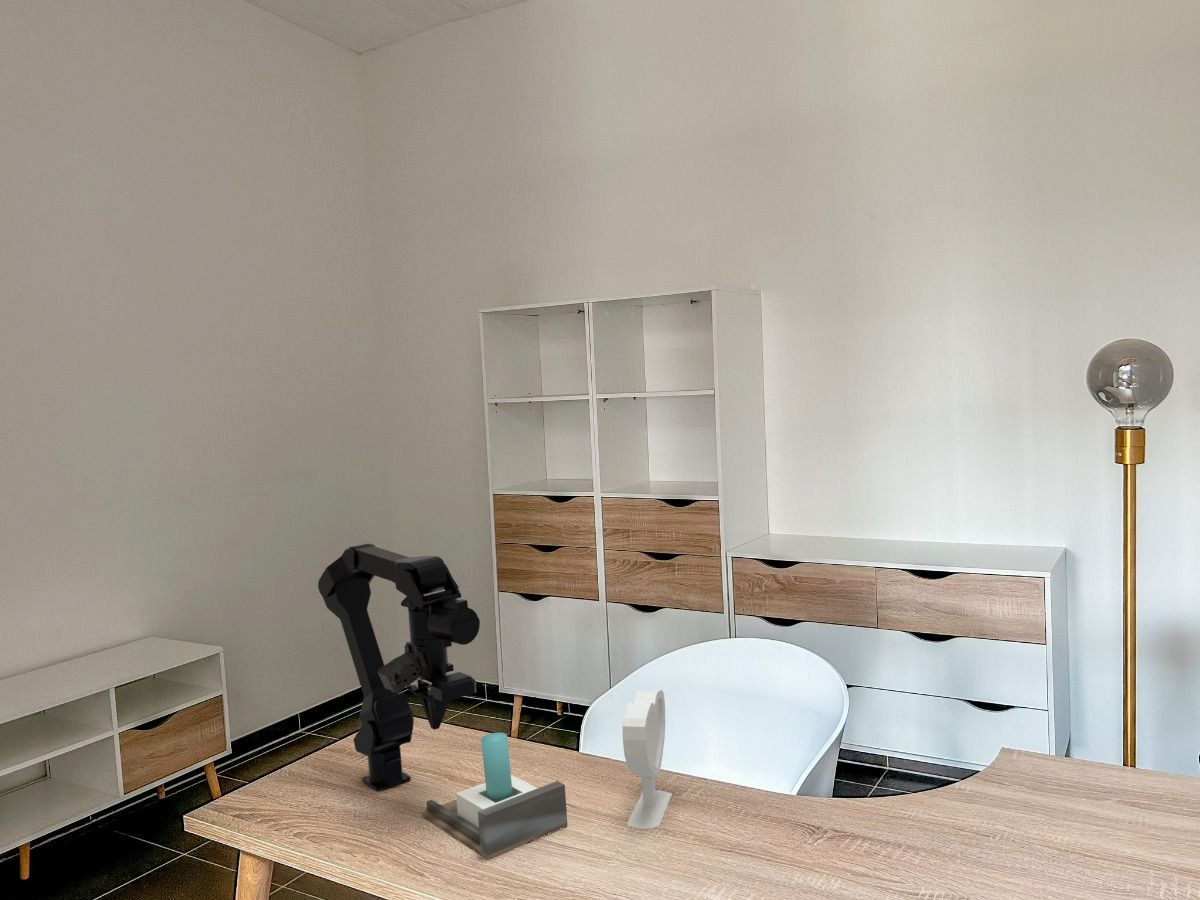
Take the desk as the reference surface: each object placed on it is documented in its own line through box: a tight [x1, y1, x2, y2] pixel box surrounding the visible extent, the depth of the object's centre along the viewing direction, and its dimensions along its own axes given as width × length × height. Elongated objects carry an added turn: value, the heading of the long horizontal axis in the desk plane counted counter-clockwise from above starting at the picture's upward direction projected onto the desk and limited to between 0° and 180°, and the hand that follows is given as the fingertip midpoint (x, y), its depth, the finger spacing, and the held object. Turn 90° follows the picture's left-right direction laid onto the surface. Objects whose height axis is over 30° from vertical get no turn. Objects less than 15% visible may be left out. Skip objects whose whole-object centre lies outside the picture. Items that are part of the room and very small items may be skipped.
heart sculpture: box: [621, 689, 673, 830], centre depth 152 cm, size 16×5×18 cm, turn 165°
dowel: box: [480, 732, 513, 803], centre depth 149 cm, size 4×4×13 cm
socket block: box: [455, 774, 538, 829], centre depth 149 cm, size 10×10×5 cm
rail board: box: [421, 780, 568, 860], centre depth 151 cm, size 20×14×7 cm
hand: (435, 728), depth 157 cm, fingers closed
